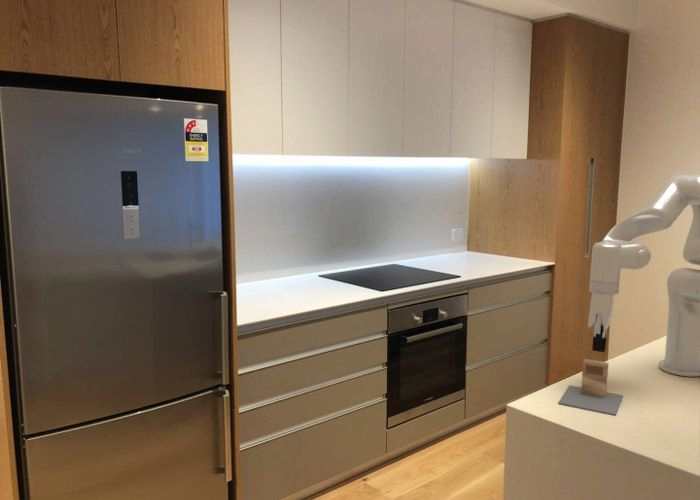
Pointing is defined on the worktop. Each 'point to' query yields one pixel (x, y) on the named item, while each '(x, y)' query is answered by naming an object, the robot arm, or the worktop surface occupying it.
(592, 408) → the rubber mat
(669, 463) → the worktop surface
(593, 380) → the oak slab
